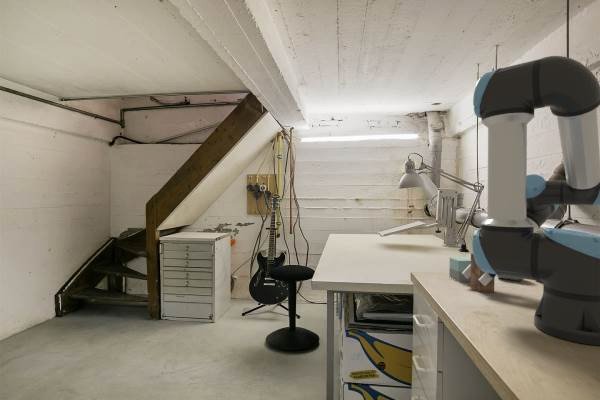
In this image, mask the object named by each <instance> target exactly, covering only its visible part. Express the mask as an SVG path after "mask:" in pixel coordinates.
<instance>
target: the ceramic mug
mask: <svg viewBox="0 0 600 400" xmlns="http://www.w3.org/2000/svg"><path fill="white" fill-rule="evenodd" d="M496 277H497V278H498V279H502V278H503V279H504V280H509V279H510V281H522V280H523V279H522V278H515V277H509V276H498V275H496Z"/></svg>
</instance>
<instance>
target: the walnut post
mask: <svg viewBox="0 0 600 400" xmlns="http://www.w3.org/2000/svg"><path fill="white" fill-rule="evenodd" d="M470 258H471V282H470V289H471V290H473V291H476V292H477V293H482V294H483V293H495V277H494V278H493V279H492V280H491V281H490V282H489V283H488V284H487V285H486V286H484V285H483V284H482V283H481V282H480V281H479V280H478V279H479V278H480V277H481V276H482V275H483V274H484V273H485V272H483V271H482V270H481V269H480V268H479V267H478V265H477V264H476V261H475V259H474V255H473V252H472V253H470Z"/></svg>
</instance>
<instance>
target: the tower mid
mask: <svg viewBox="0 0 600 400" xmlns="http://www.w3.org/2000/svg"><path fill="white" fill-rule="evenodd" d="M470 264H471V257H461V256H459V257H458V256H457V257H451V256H450V257H449V268H452V269H454V270H456V271H458V272H463V271H464V270H465V269H466V268H467V267H468V266H469V265H470Z"/></svg>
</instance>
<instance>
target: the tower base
mask: <svg viewBox="0 0 600 400" xmlns="http://www.w3.org/2000/svg"><path fill="white" fill-rule="evenodd" d="M448 271H449V275H448V276H449V278H450V277H451V278H450V279H452V278H453V279H452V280H454V279H455V280H454V281H456V280H457V281H456V282H458V281H459V283H469V282H470V283H471V276H470V278H469V279H467V278H466V277H465V276H464V275H463V274H462V272H458V271H456V270H454V269H452V268H450V267H449V270H448Z"/></svg>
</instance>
